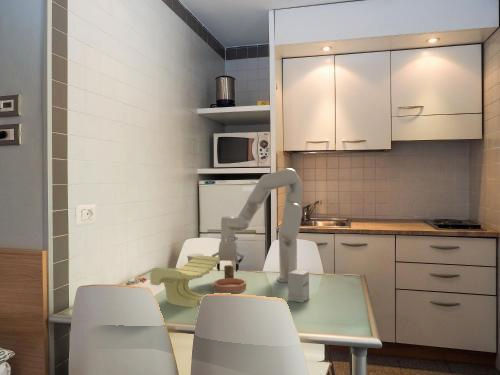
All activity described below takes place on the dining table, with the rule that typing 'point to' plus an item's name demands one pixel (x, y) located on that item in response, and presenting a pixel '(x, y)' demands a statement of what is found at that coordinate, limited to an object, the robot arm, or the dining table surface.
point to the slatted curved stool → (183, 280)
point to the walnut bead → (229, 271)
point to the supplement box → (298, 286)
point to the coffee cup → (193, 256)
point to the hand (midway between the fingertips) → (227, 270)
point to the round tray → (230, 285)
